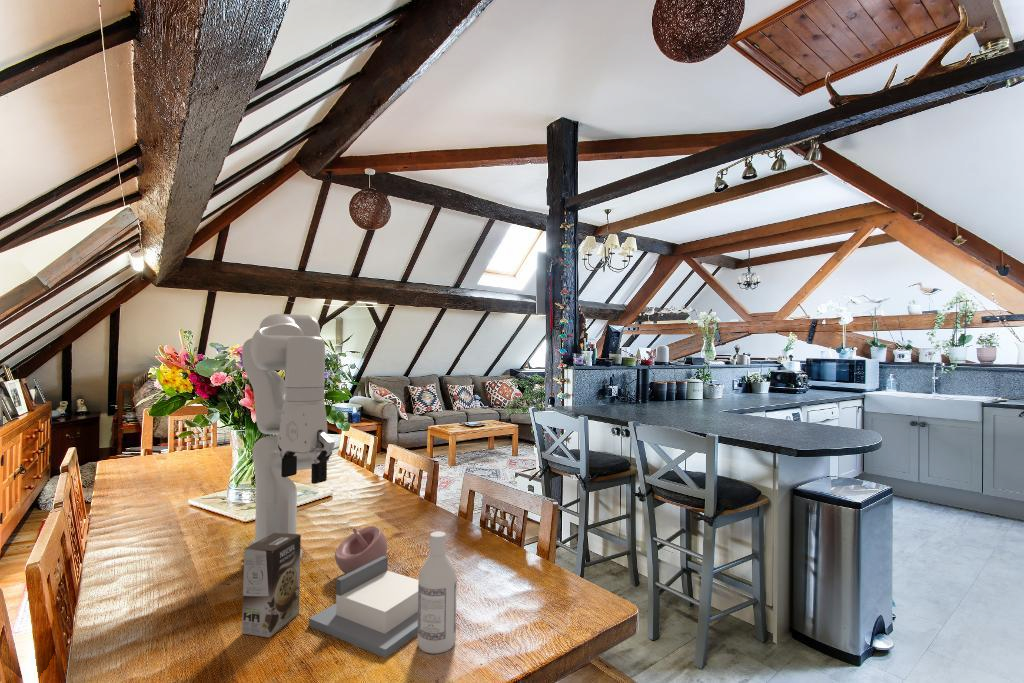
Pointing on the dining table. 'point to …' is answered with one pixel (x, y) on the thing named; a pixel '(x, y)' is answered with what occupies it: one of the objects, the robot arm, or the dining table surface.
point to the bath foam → (437, 599)
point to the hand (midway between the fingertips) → (303, 479)
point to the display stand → (372, 609)
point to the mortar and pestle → (361, 548)
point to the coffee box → (271, 584)
